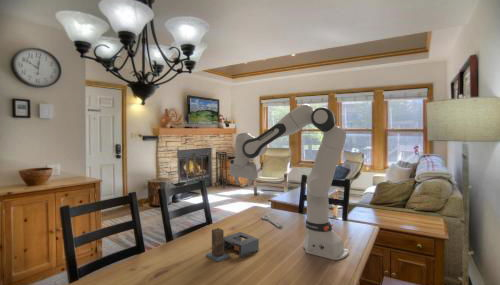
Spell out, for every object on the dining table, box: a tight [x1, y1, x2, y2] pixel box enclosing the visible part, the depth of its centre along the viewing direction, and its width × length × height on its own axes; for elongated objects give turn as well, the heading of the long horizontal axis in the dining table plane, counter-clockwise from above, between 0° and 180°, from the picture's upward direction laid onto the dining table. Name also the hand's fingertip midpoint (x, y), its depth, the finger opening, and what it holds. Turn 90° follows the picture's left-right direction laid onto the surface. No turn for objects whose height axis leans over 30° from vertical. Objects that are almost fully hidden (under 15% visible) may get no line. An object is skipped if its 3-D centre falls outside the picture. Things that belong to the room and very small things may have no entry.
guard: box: [224, 231, 260, 259], centre depth 144 cm, size 14×12×6 cm
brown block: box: [211, 227, 225, 257], centre depth 136 cm, size 4×4×12 cm
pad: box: [205, 251, 230, 263], centre depth 136 cm, size 9×7×1 cm
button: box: [233, 245, 239, 252], centre depth 144 cm, size 5×5×2 cm
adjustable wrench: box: [261, 214, 284, 229], centre depth 186 cm, size 25×6×2 cm, turn 18°
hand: (243, 185), depth 163 cm, fingers open, 8 cm apart
